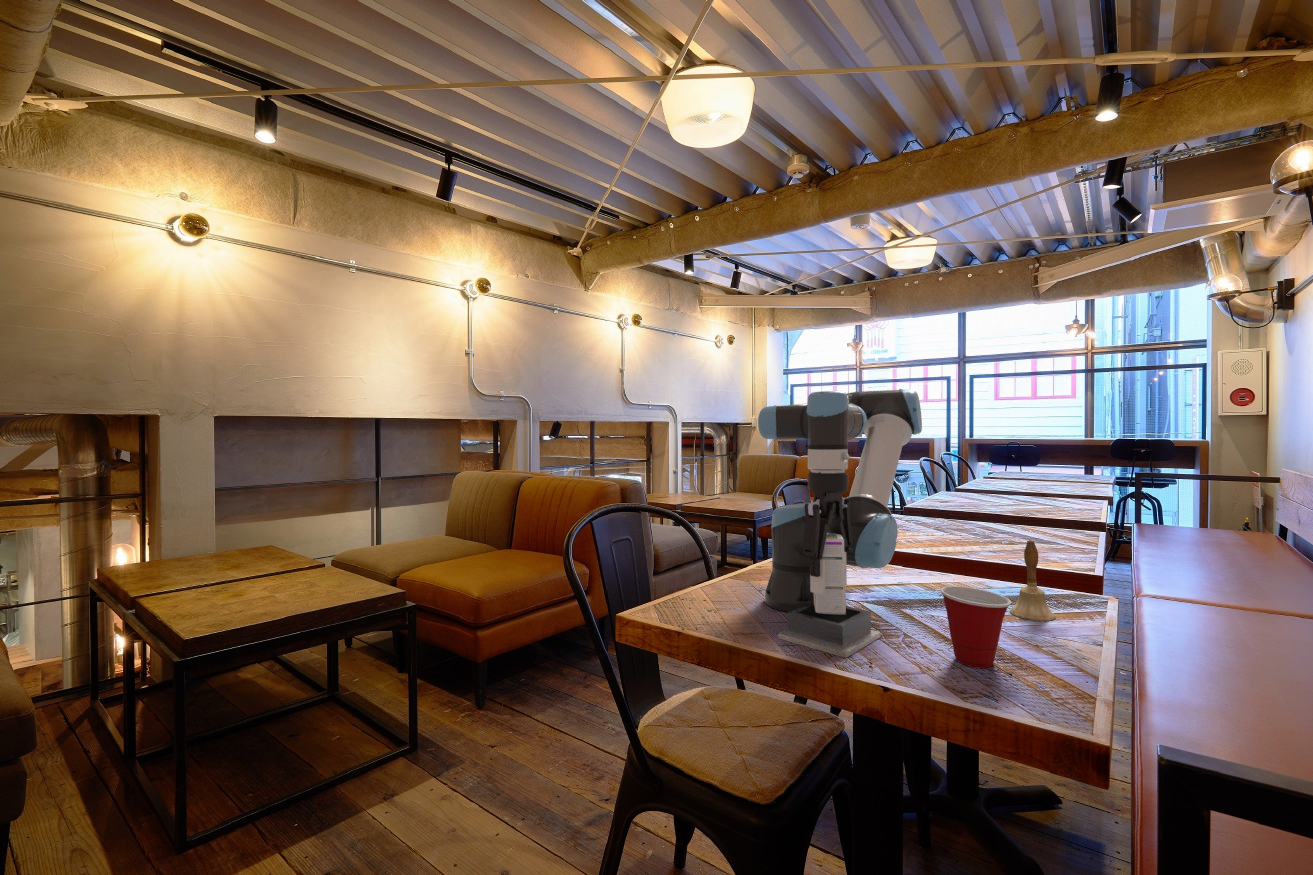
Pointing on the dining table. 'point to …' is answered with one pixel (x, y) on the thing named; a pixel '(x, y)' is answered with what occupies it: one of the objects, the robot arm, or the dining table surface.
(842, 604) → the syrup box
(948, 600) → the plastic cup
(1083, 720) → the dining table surface
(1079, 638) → the dining table surface
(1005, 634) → the dining table surface
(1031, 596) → the hand bell
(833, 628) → the grey shallow open box
